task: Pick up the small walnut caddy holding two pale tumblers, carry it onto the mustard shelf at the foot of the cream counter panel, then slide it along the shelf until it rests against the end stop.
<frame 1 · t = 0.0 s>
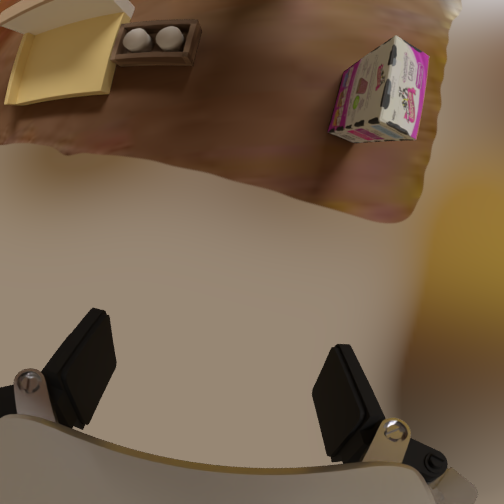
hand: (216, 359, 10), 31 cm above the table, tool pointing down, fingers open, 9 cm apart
candy bar box: (349, 106, 35), on the table
counter shelf: (71, 53, 29), on the table
caddy: (159, 47, 30), on the table
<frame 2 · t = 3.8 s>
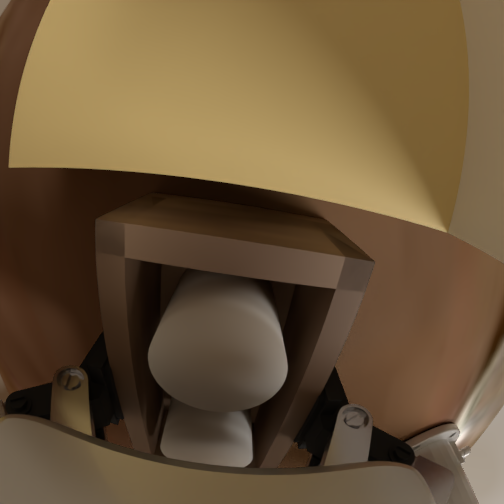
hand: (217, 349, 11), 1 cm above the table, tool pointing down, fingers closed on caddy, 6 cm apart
caddy: (219, 340, 12), on the table, touching gripper
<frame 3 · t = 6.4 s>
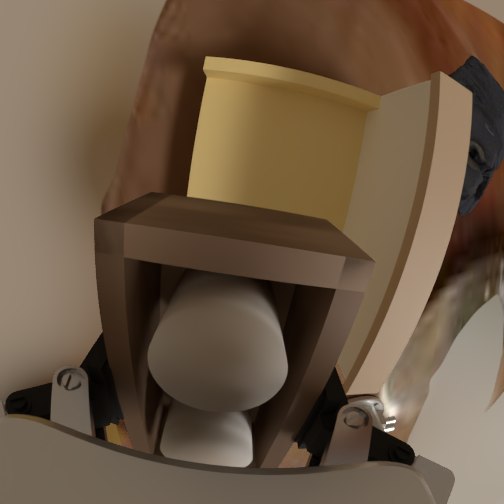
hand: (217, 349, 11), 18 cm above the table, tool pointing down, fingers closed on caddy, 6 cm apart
dark slate chunk: (470, 128, 24), on the table
counter shelf: (285, 196, 26), on the table
caddy: (218, 340, 12), point 17 cm above the table, touching gripper
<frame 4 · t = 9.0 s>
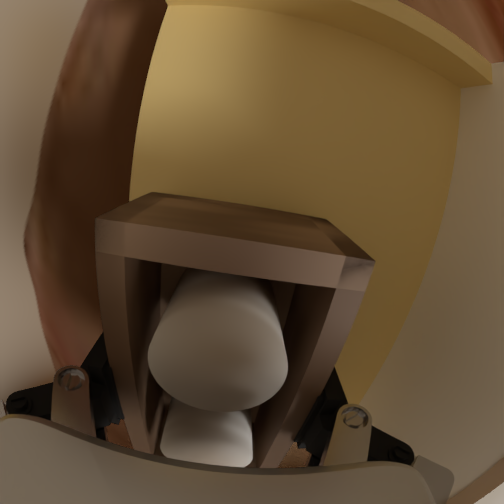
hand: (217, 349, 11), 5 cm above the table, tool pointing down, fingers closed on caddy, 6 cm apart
counter shelf: (318, 230, 14), on the table
caddy: (219, 339, 12), point 4 cm above the table, touching gripper
when the fingers open (5 cm above the table, at t = 9.2 s): caddy drops 1 cm, resting on counter shelf.
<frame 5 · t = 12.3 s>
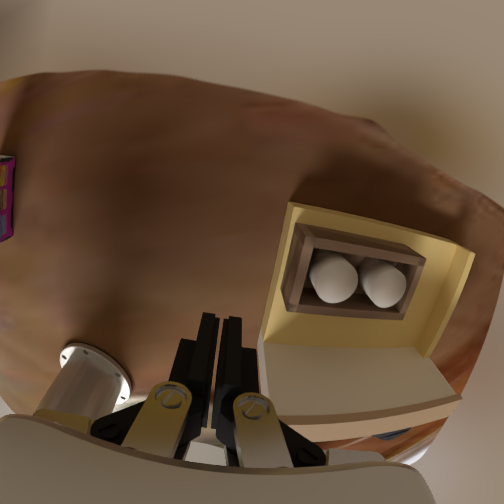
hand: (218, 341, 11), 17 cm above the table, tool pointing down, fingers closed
candy bar box: (4, 195, 24), on the table
counter shelf: (361, 295, 30), on the table
caddy: (346, 265, 25), point 3 cm above the table, touching counter shelf
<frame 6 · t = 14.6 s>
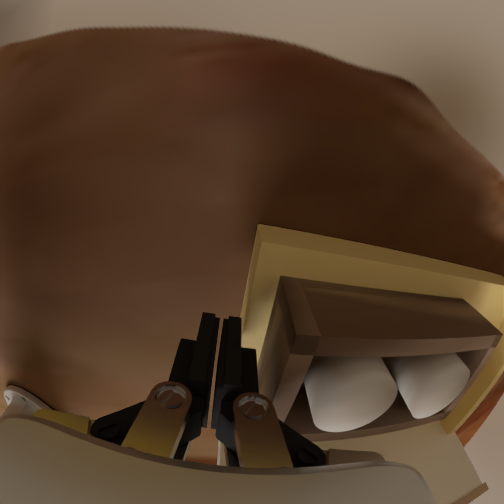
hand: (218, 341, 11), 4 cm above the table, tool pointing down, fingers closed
counter shelf: (376, 364, 18), on the table
caddy: (371, 342, 13), point 3 cm above the table, touching gripper
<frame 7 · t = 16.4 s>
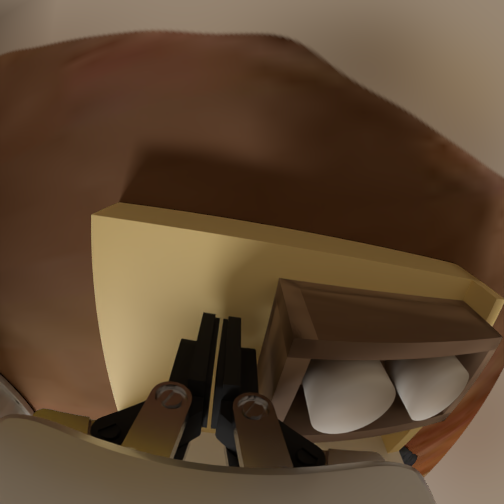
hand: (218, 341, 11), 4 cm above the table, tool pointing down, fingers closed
counter shelf: (281, 361, 17), on the table
caddy: (370, 344, 13), point 3 cm above the table, touching counter shelf, gripper
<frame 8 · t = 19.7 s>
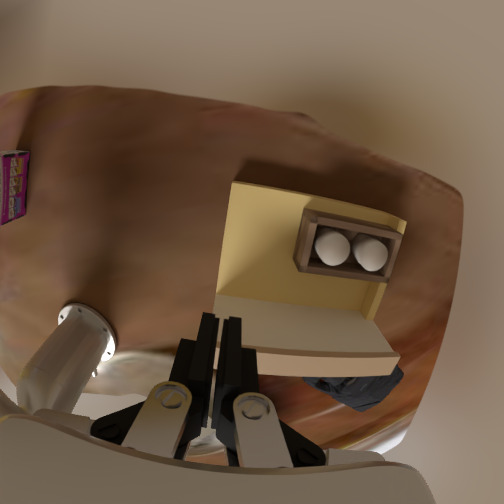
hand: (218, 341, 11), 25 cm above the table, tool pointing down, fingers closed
candy bar box: (19, 182, 32), on the table
dark slate chunk: (357, 373, 47), on the table
counter shelf: (302, 259, 37), on the table
caddy: (342, 241, 33), point 3 cm above the table, touching counter shelf
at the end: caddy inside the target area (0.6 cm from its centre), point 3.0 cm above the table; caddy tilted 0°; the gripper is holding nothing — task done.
